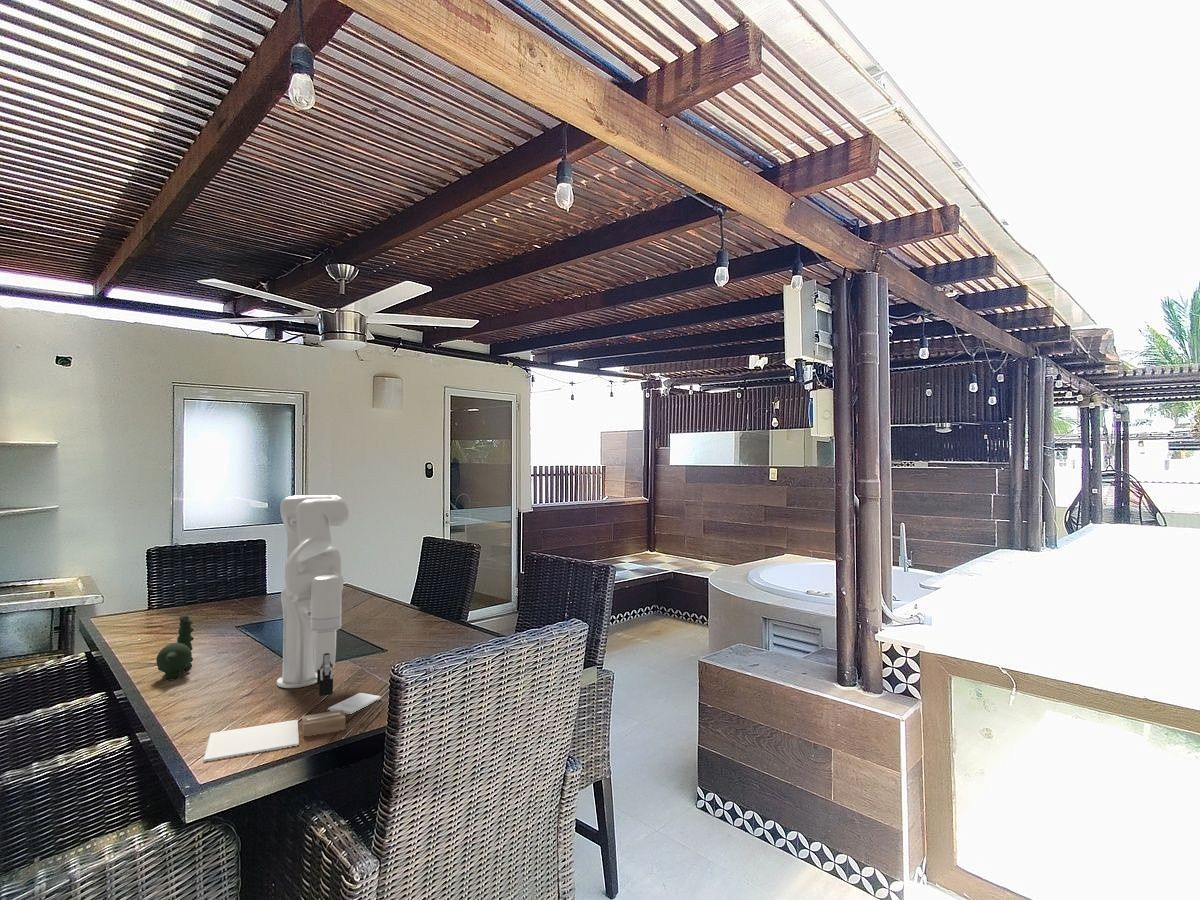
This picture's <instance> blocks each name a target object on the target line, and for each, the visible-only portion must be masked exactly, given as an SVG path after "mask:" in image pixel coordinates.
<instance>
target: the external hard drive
mask: <svg viewBox="0 0 1200 900" xmlns="http://www.w3.org/2000/svg"><path fill="white" fill-rule="evenodd" d="M380 698H381V699H382V696H380V695H375V694H370V693H366V692H365V693H364V692H358V693H357V694H354V695H353V696H350V697H348V698H346V699H344V700H342V701H340V702H337V703H336V704H333V705H332V706H329V707H328V708H327V711H328V710H330V711H329V712H332V711H338V710H343V712H344V713H347V714H352V713H354V712H356V711H358V710H360V709H362V708H364V707H366V706H368V705H369V704H371V703H373V702H374V701H376V700H378V699H380ZM368 707H369V706H368ZM366 708H367V707H366ZM364 709H365V708H364ZM362 710H363V709H362ZM360 711H361V710H360ZM358 712H359V711H358ZM356 713H357V712H356ZM347 714H346V715H347ZM354 714H355V713H354ZM352 715H353V714H352Z"/></svg>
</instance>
